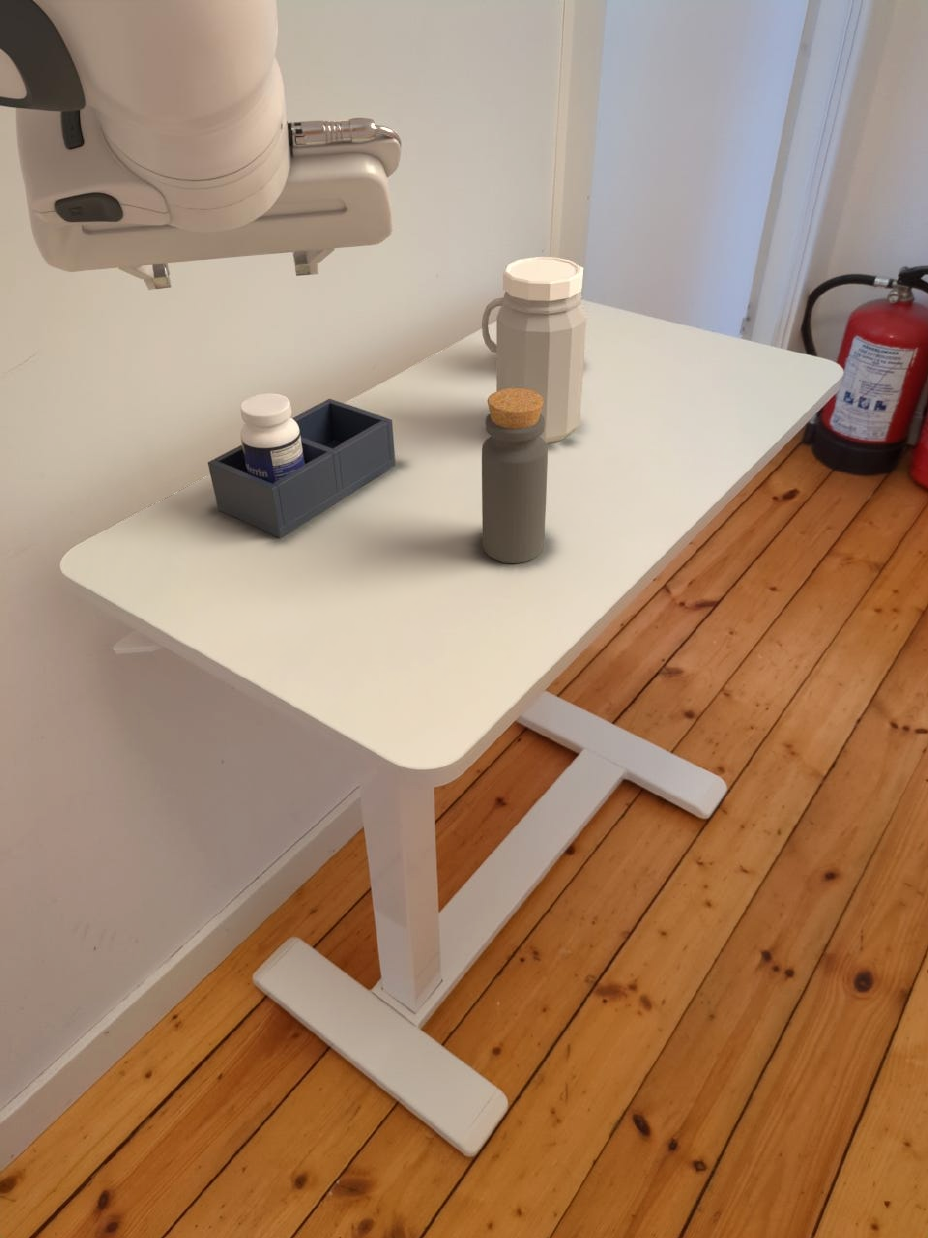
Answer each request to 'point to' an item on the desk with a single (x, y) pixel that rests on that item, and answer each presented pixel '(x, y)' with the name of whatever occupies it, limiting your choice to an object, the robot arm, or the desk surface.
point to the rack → (308, 469)
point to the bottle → (514, 476)
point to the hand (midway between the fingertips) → (233, 271)
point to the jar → (543, 338)
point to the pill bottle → (270, 437)
